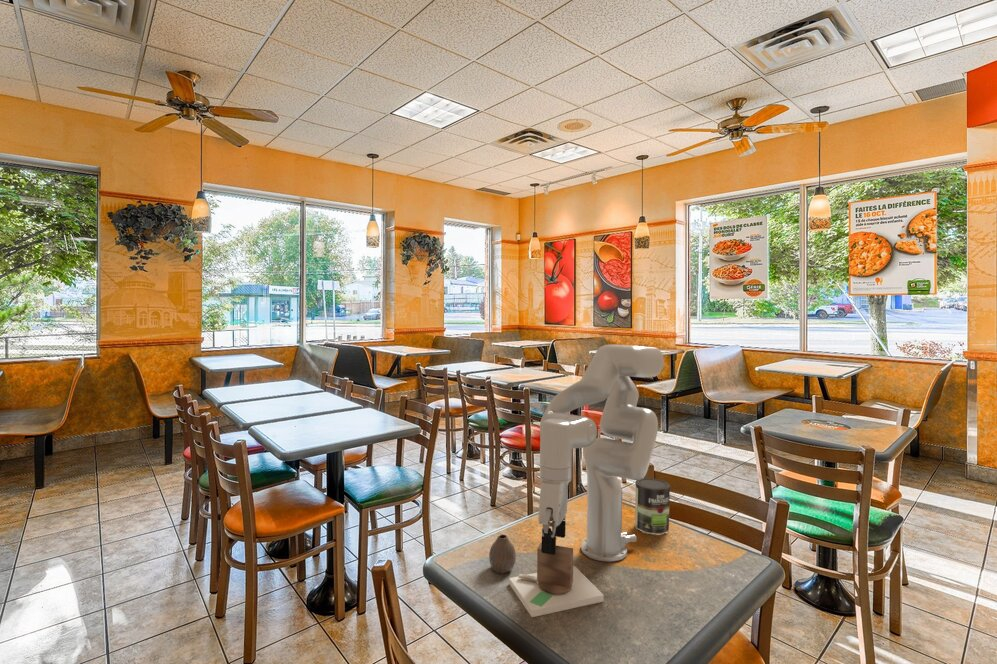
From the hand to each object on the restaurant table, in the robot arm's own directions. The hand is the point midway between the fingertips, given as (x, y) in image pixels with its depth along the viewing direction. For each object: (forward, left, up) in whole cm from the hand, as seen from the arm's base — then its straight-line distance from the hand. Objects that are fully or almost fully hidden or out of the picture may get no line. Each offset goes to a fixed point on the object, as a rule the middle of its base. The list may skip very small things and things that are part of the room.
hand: (553, 544), depth 116 cm
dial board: (-1, 0, -12) cm, 12 cm away
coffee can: (-45, -22, -12) cm, 51 cm away
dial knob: (+1, -2, -10) cm, 10 cm away
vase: (+8, -14, -12) cm, 20 cm away
